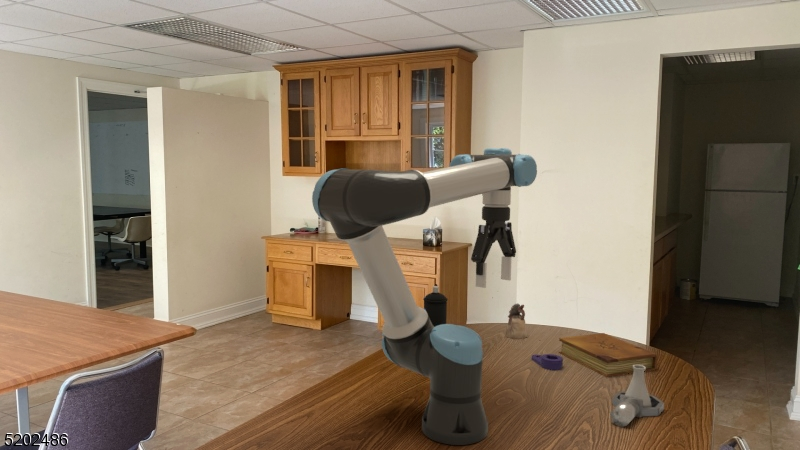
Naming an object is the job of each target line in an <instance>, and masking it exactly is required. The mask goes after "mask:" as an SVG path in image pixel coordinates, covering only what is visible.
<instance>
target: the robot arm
mask: <svg viewBox="0 0 800 450" xmlns="http://www.w3.org/2000/svg"><path fill="white" fill-rule="evenodd" d="M537 167H538V166H537V161H536V160H535V158H534V157H533V156H531V155H529V154H521V153H517V154H512V150H511V149H509V148H506V147H505V148H498V147H497V148H496V147H493V148H491V147H487V148H485V149H484V151H483V154H469V153H466V154H465V153H464V154H457V155H455V156H454V157H453V158H452V159H451V161H450V163H449V166H448V167H442V168H438V169H437V168H436V169H432V170H428V171H419V170H417V169H408V170H401V171H398V170H396V171H394V170H393V171H392V170H380V169H349V168H346V167H345V168H338V169H332V170H329V171H327V172H324V174H322V175H321V176H320V177H319V178H318V180H317V181H316V182H315V184H314V188H313V191H312V196H311V200H312V201H311V202H312V207H313V210H314V211H315V213H316V214H317V216H318V218H319V217H320V219H322V220H323V221H326V222H328V223H330V225H331V227H332V230H333V231H334V234H335V235H336V237H337V239H338V240H339V241H343V242H346V243H347V244H348V247H349V248H350V251H351V253H352V256H353V257H354V260H355V261H356V263H357V265H358V268H359V270H360V272H361V274H362V276H363V278H364V280H365V282H366V284H367V287H368V289H369V291H370V293H371V295H372V297H373V299H374V302H375V303H376V306H377V308H378V310H379V312H380V314H381V316H382V319H383V321H384V323H383V325H382V328H381V329H382V333H381V336H382V339H381V340H380V341H381V348H382V351H383V353H384V355H385V357H386V358H387V359H388V360H389V361H390V362H392V363H393V364H395V365H397V366H398V367H400V368H404V369H406V370H409V371H411V372H414V373H416V374H419V375H422V376H424V377H427V378H428V379H429V380H430V381H429V397H428V400H427V404H426V406H425V409H424V411H423V414H422V418H421V431H422V433H423V434H424V435H425V436H426V437H427V438H429V439H431V440H432V441H434V442H437V443H440V444H446V445H452V446H465V445H471V444H475V443H479V442H481V441H482V440H484V439H485V438H486V437H487V436H488V433H489V430H488V429H489V422H488V419H487V416H486V412H485V408H484V405H483V401H482V378H483V375H482V374H483V358H484V352H483V341H482V337H481V336H480V334H479V333H478V332H476V331H475V330H474V329H471V328H470V327H467V326H463V325H460V324H458V325H456V324H453V323H446V324H442V325H438V326H436V327H434V326H433V325H432V323H431V321H430V318H429V316H428V314H427V312H426V310H425V309H424V307H420V306H418V304H417V302H416V300H415V298H414V295H413V293H412V291H411V289H410V286H409V284H408V282H407V279H406V277H405V275H404V273H403V271H402V268H401V266H400V263H399V262H398V258H397V257H396V254H395V251H394V250H393V247H392V245H391V242H390V241H389V238H388V236H387V234H386V231H385V229H384V228H383V226H386V225H390V224H394V223H397V222H401V221H405V220H408V219H411V218H415V217H419V216H422V215H424V214H426V213H427V212H428V210H429V209H430V208H433V207H437V206H441V205H445V204H449V203H452V202H456V201H460V200H463V199H467V198H471V197H476V196H478V195H481V196H482V208H481V219H482V220H483V221H485V224H479V225H478V229H477V230H478V231H477V236H476V239H475V242H474V247H473V250H472V254H471V258H470V261H471V262H473V263H476V264H475V287H476V288H477V287H478V288H482V289H485V288H487V265H488V264H487V262H486V260H487V258H488V255H489V253H490V251H491V248H492V246H493V244H494V243H496V241H497V243H498V245H499V247H500V251H501V252H502V255H503V256H501V264H500V265H501V268H500V270H501V271H500V280H505V281H511V279H512V258H515V257H516V253H517V249H516V244H515V239H514V236H513V235H514V234H513V231H512V229H513V227H512V222H510V219H511V208H510V205H511V203H512V201H511V199H512V195H511V193H512V188H511V187H519V188H521V187H529V186H531V185H532V184H533V183H534V182H535V181H536V178H537V174H538V168H537ZM483 205H484V206H483Z"/></svg>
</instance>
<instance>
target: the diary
mask: <svg viewBox="0 0 800 450" xmlns="http://www.w3.org/2000/svg"><path fill="white" fill-rule="evenodd" d="M558 341H559V342H561V351H558V354H559V353H560V355H561V354H562V356H563V355H564V357H566V358H567V359H569V360H572V361H573V362H576V363H577V364H580V365H581V366H583V367H586V368H587V369H589V370H591V371H593V372H595V373H597V374H599V375H602V376H603V377H606V378H610V377H611V378H612V376H613V377H618V376H617V375H619V376H624V375H623V374H626V375H629V374H628V373H633V372H634V369H633V365H643V366H645V367H646V370H645V371H647V372H650V371H649V370H654V371H656V370H657V369H658V358H659V357H658V355H657V354H656V353H655V352H652V351H650V350H648V349H645V348H642V347H639V346H638V345H634V344H632V343H629V342H627V341H624V340H622V339H619V338H617V337H616V336H615V337H614V336H612V335H609V334H607V333H605V332H601V333H594V334H593V333H592V334H583V335H576V336H564V337H559V340H558ZM655 369H656V370H655Z"/></svg>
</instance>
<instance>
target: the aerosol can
mask: <svg viewBox="0 0 800 450" xmlns="http://www.w3.org/2000/svg"><path fill="white" fill-rule="evenodd" d="M439 291H440V290H439V286H437V285H433V286H432V292H430V293H428V294H426V295H425V297H423V299H422V300H423V309H425V310H426V312H427V314H428V316H429V318H430V321H431V323H432V325H433V326H434V327H436V326H438V325H442V324H447V312H448V311H447V308H448V307H447V306H448V305H447V304H448V300H449V299H448V298H447V297H446V296H445V295H444V294H443V293H440V292H439Z"/></svg>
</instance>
